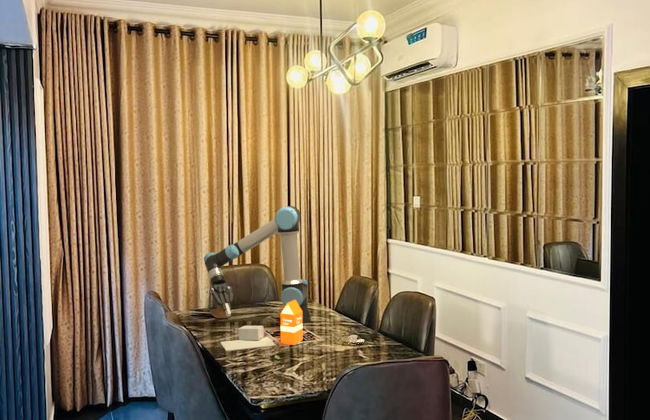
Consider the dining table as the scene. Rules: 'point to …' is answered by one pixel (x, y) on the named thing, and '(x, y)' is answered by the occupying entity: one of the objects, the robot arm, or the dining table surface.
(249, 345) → the mat
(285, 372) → the dining table surface
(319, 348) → the dining table surface
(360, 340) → the teacup and saucer
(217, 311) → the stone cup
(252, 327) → the small box
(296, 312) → the orange juice
